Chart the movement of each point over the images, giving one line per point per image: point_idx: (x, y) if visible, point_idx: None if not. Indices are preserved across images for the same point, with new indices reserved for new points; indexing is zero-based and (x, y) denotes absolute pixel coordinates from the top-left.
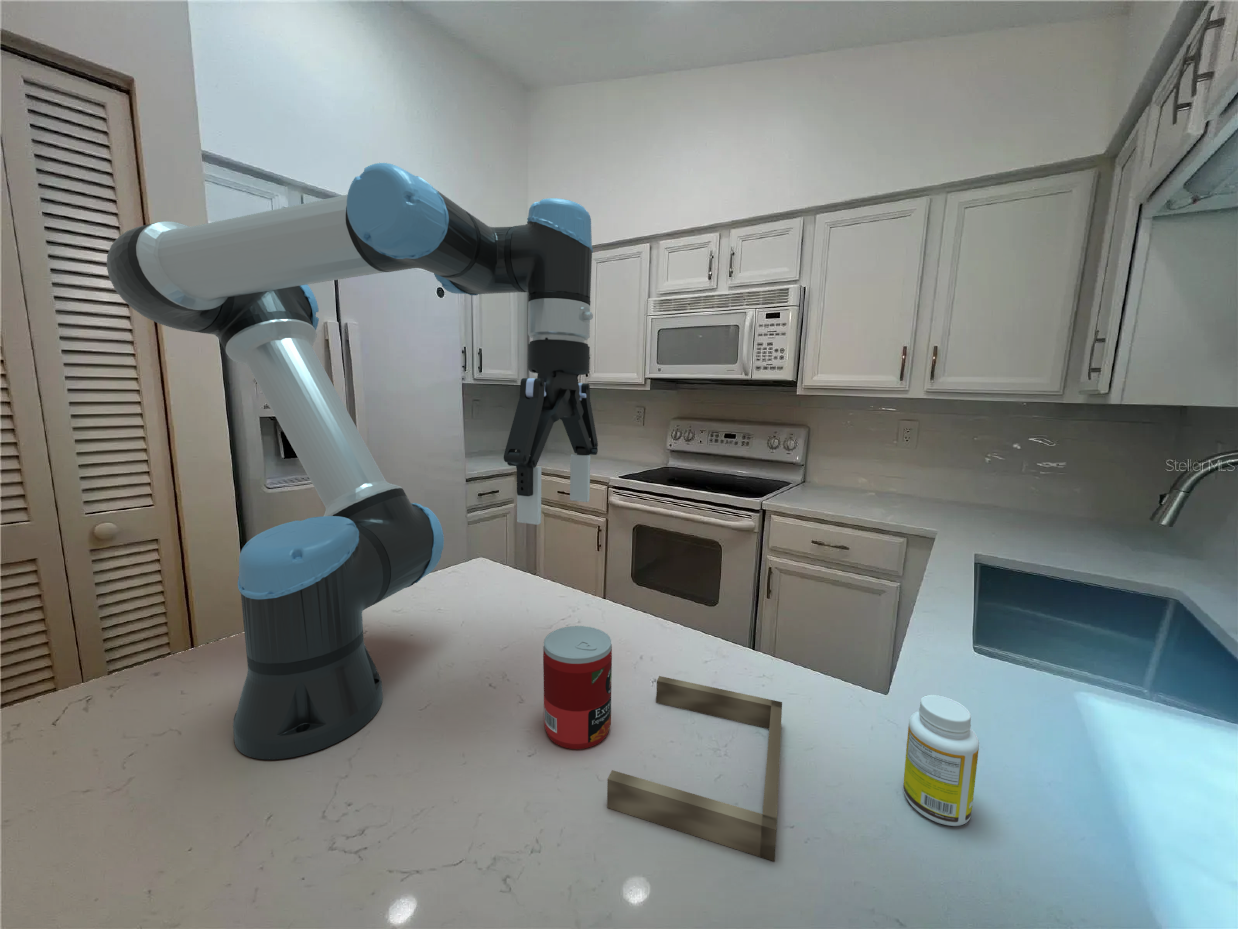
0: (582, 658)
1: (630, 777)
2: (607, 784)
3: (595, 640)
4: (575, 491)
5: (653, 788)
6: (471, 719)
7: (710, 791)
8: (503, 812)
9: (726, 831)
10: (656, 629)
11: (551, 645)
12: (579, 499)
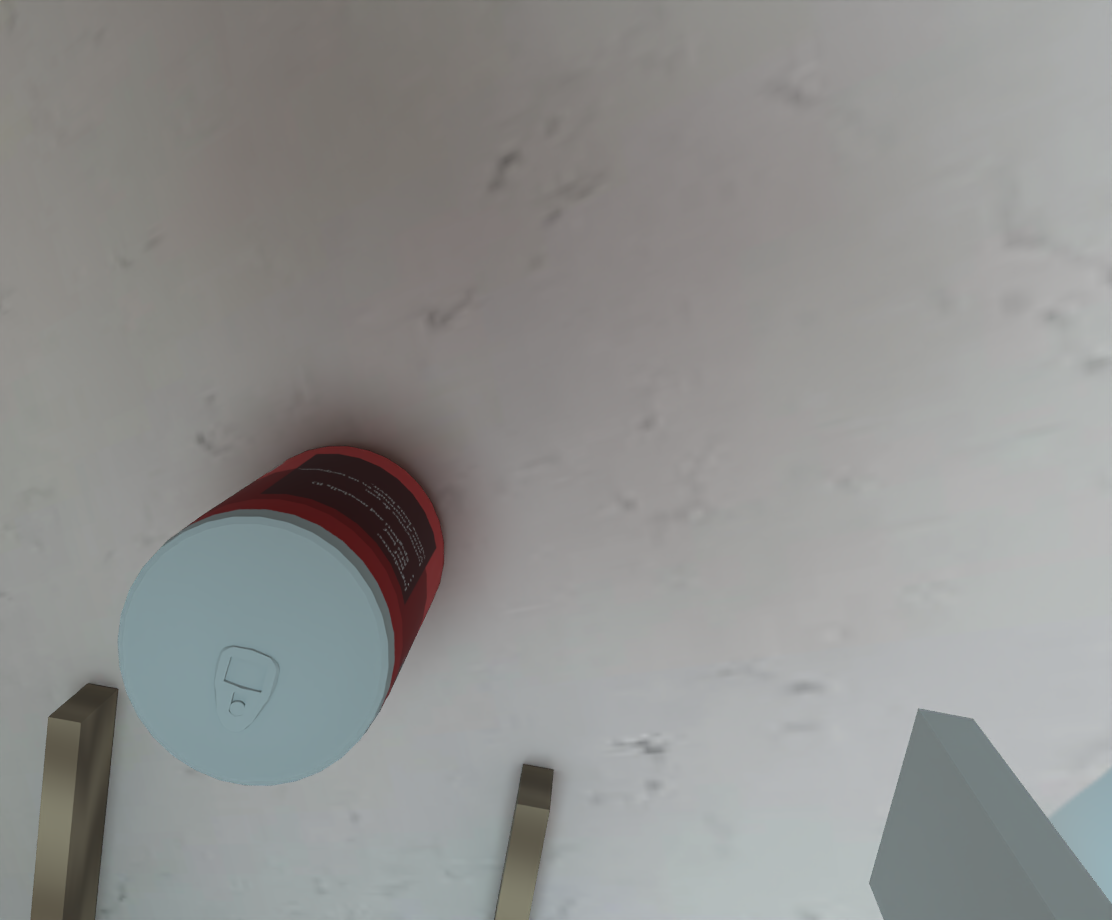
0: (133, 701)
1: (70, 771)
2: (55, 711)
3: (301, 713)
4: (931, 818)
5: (50, 828)
6: (306, 186)
7: (202, 910)
8: (6, 442)
9: None
10: (1055, 726)
11: (203, 555)
12: (893, 818)
